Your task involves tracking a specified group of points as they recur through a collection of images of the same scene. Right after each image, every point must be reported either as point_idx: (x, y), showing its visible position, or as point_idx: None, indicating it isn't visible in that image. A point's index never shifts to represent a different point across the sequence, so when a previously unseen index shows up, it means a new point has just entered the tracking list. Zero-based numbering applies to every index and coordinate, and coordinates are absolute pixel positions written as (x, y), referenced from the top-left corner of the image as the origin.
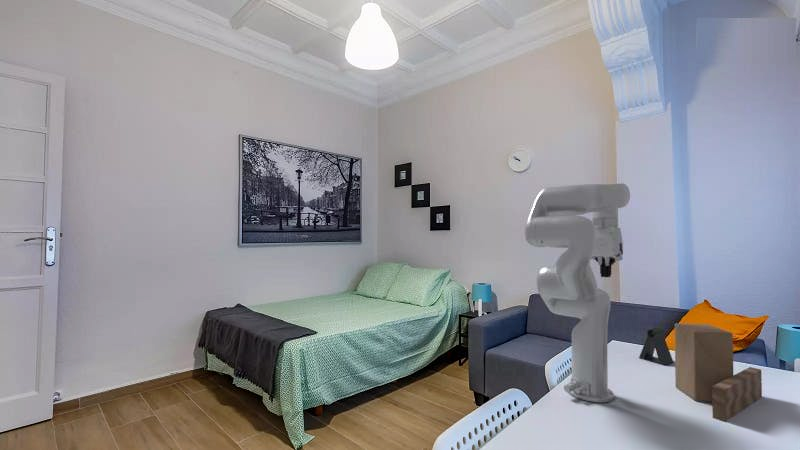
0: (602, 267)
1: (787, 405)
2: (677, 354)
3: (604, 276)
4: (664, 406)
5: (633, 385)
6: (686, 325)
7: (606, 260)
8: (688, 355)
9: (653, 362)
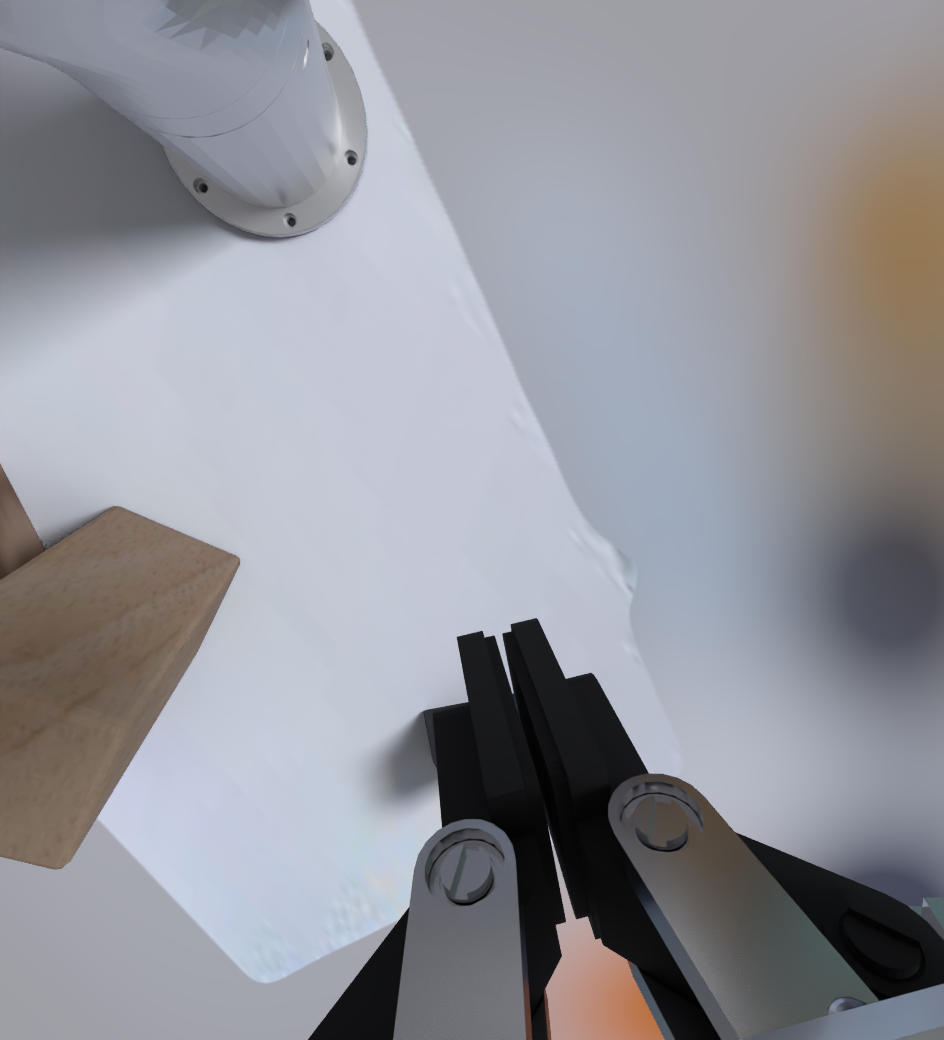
0: (557, 746)
1: None
2: (170, 615)
3: (474, 634)
4: (92, 342)
5: (296, 417)
6: (48, 740)
7: (495, 977)
8: (61, 590)
9: (463, 703)
